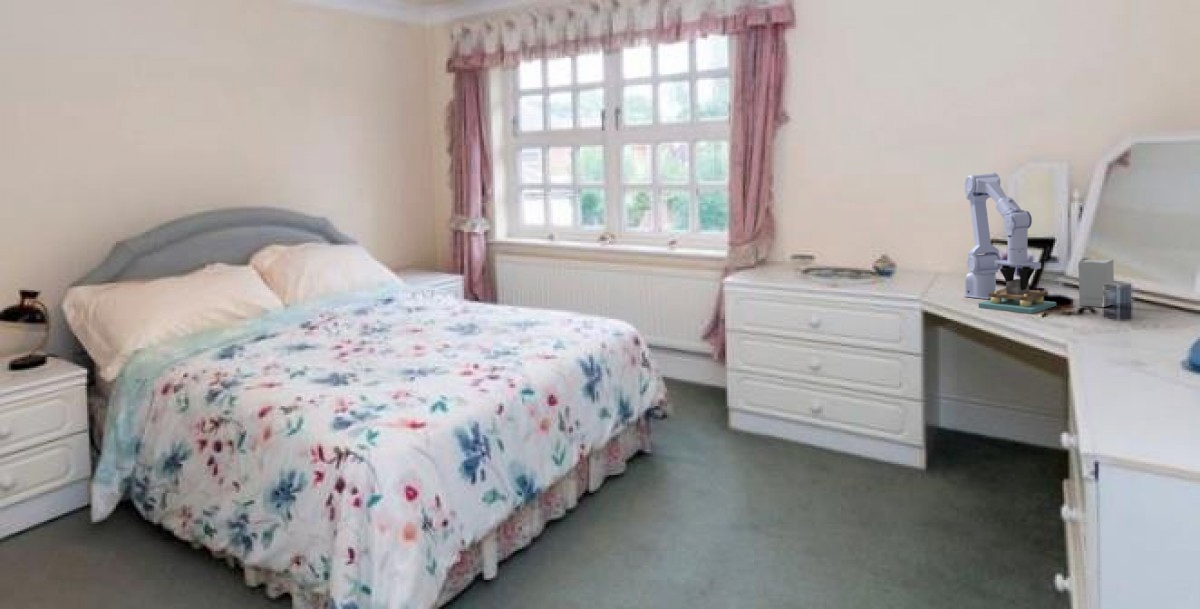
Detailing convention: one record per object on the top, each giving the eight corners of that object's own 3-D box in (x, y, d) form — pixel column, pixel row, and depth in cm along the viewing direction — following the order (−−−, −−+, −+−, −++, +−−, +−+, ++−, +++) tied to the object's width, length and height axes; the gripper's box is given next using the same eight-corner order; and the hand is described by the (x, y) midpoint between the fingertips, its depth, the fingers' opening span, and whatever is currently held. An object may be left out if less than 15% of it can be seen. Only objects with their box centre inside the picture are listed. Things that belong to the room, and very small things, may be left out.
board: (988, 296, 251) (988, 281, 250) (1006, 290, 255) (1006, 276, 254) (1029, 300, 239) (1029, 285, 238) (1047, 294, 243) (1047, 279, 242)
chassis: (978, 307, 252) (978, 291, 251) (1003, 300, 259) (1003, 285, 258) (1031, 313, 236) (1031, 297, 235) (1056, 306, 243) (1056, 290, 242)
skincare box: (1114, 305, 238) (1115, 259, 236) (1105, 308, 235) (1107, 262, 232) (1085, 302, 245) (1087, 258, 242) (1077, 305, 242) (1078, 260, 239)
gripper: (1046, 247, 240) (1045, 289, 242) (1003, 246, 252) (1003, 285, 255) (1034, 250, 236) (1033, 292, 239) (990, 248, 249) (990, 288, 251)
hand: (1016, 288), depth 246 cm, fingers closed on board, 4 cm apart
